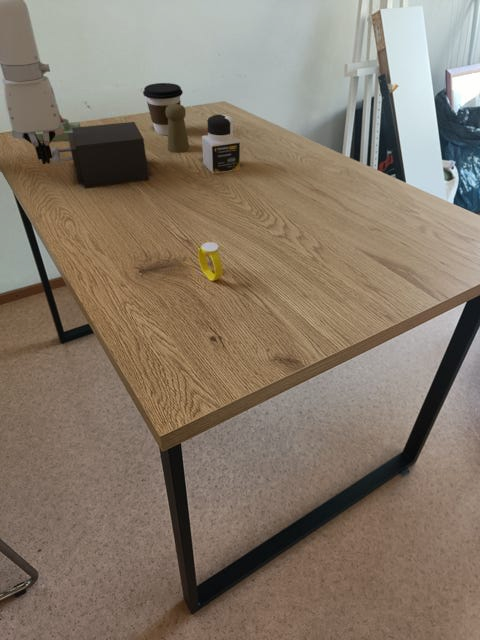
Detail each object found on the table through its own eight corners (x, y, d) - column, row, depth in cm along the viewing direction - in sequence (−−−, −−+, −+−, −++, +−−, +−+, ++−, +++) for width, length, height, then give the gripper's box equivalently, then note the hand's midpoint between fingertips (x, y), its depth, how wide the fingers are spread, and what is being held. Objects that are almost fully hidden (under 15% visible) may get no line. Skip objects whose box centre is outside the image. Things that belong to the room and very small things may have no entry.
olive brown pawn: (163, 150, 121) (158, 106, 114) (174, 143, 126) (170, 100, 119) (183, 153, 120) (179, 109, 113) (193, 146, 124) (190, 103, 117)
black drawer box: (85, 188, 103) (75, 145, 97) (81, 167, 112) (72, 127, 106) (148, 179, 107) (143, 138, 101) (139, 160, 116) (134, 121, 110)
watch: (195, 270, 78) (193, 240, 74) (209, 265, 79) (207, 235, 75) (212, 287, 74) (210, 257, 70) (226, 282, 75) (226, 252, 72)
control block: (36, 142, 126) (32, 127, 123) (42, 131, 132) (38, 117, 130) (77, 140, 127) (74, 125, 124) (80, 129, 134) (77, 115, 131)
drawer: (59, 186, 102) (49, 151, 96) (57, 167, 110) (48, 134, 105) (138, 176, 106) (133, 142, 101) (130, 159, 114) (125, 127, 109)
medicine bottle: (213, 174, 109) (211, 123, 102) (203, 164, 114) (200, 114, 107) (240, 170, 112) (240, 119, 104) (229, 160, 117) (228, 110, 109)
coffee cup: (148, 126, 137) (143, 82, 129) (185, 125, 138) (182, 82, 130) (147, 138, 128) (141, 93, 121) (185, 137, 129) (182, 92, 121)
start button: (48, 125, 126) (46, 118, 125) (50, 121, 128) (48, 114, 127) (61, 124, 126) (60, 117, 125) (63, 120, 129) (62, 114, 128)
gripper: (61, 66, 95) (79, 152, 107) (-16, 69, 92) (11, 159, 104) (62, 74, 90) (81, 164, 102) (-20, 78, 86) (10, 171, 98)
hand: (46, 161), depth 103 cm, fingers closed
